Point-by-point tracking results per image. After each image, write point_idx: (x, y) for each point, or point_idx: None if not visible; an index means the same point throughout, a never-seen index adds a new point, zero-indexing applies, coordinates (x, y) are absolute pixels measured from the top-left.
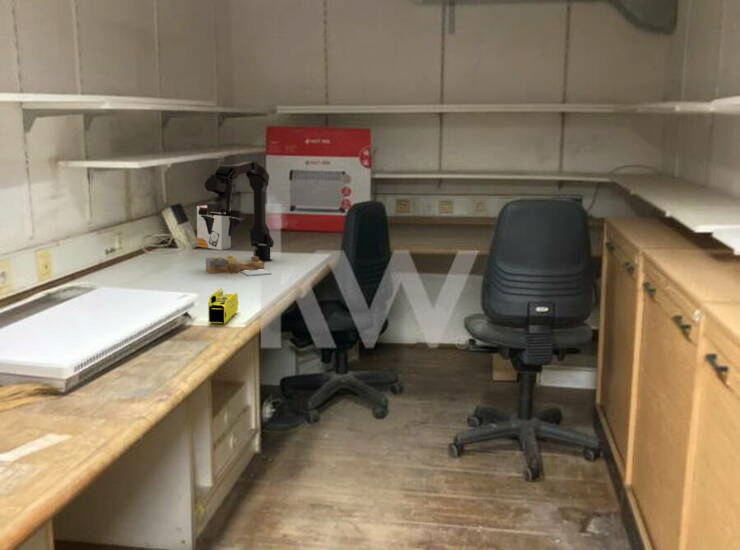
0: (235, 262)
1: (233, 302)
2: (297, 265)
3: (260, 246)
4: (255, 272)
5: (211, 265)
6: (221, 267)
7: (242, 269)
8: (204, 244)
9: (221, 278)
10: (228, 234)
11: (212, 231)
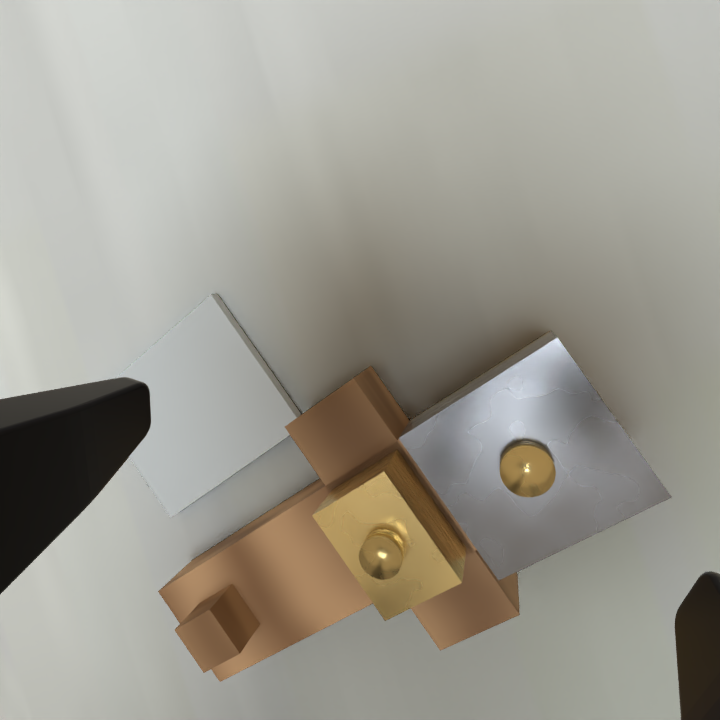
0: (338, 489)
1: None
2: (61, 713)
3: None
4: (188, 395)
5: (539, 339)
6: None
7: (310, 486)
8: None
9: (378, 142)
10: (120, 388)
11: None
